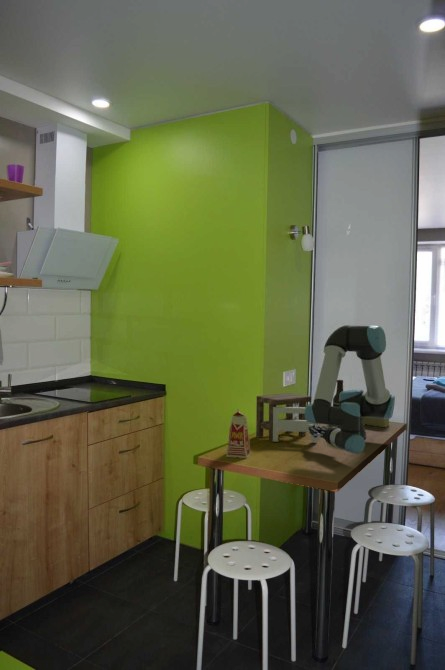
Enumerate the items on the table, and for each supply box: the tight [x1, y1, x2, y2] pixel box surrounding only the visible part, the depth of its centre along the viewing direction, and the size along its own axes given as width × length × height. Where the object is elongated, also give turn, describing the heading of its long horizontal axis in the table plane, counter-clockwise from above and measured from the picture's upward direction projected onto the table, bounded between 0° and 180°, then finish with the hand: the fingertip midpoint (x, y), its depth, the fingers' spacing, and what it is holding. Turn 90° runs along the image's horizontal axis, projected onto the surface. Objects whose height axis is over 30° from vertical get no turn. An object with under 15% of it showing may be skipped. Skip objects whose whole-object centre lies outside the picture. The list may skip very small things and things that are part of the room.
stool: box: [255, 392, 312, 442], centre depth 261 cm, size 16×22×20 cm
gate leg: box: [272, 406, 318, 444], centre depth 249 cm, size 2×20×16 cm, turn 85°
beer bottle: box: [332, 379, 344, 407], centre depth 302 cm, size 8×8×24 cm
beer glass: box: [293, 403, 299, 420], centre depth 302 cm, size 7×7×15 cm
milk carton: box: [225, 408, 251, 459], centre depth 225 cm, size 9×9×20 cm
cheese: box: [363, 417, 390, 428], centre depth 295 cm, size 22×10×15 cm, turn 60°
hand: (308, 426), depth 243 cm, fingers closed
